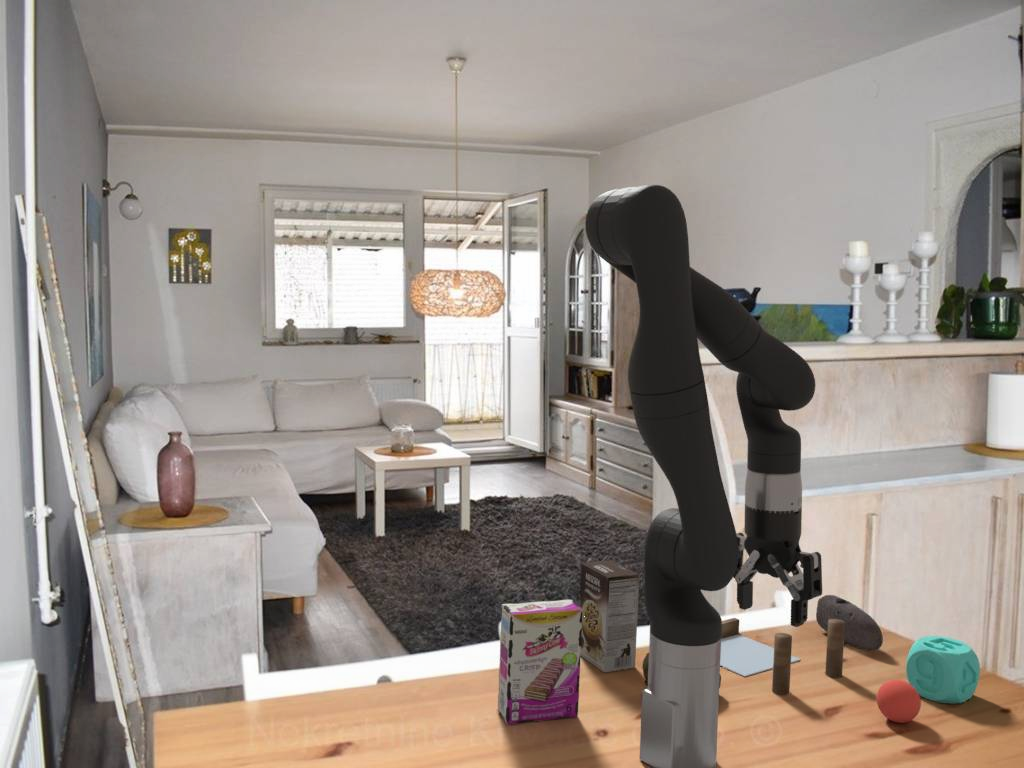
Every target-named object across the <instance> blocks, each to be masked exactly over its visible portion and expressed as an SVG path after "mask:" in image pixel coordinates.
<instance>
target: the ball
mask: <svg viewBox="0 0 1024 768" xmlns="http://www.w3.org/2000/svg"><path fill="white" fill-rule="evenodd" d="M876 704H877V707H878V709H879V712H880V713H881V714H882V715H883V716H884V717H886V719H888V720H890V721H892V722H895V723H900V724H901V723H902V724H903V723H908V722H910V721H912V720H914V719H915V718H917V716H918V715H919V713H920V711H921V708H922V707H921V705H922V702H921V696H920V695H919V694H918V692H917V690H916V689H915V688H914V687H913V686H912V685H911V684H910V683H909V681H908V682H907V681H905V680H903V679H895V678H894V679H890V680H887V681H885V682H884V683H882V685H881V686H880V687H879V688H878V690H877V693H876Z"/></svg>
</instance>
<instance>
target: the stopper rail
mask: <svg viewBox="0 0 1024 768" xmlns="http://www.w3.org/2000/svg"><path fill="white" fill-rule="evenodd" d="M739 633H740V618H739V619H738V618H736V617H733V618H732V617H731V618H729V619H724V620H722V635H721V638H725V637H730V636H734V635H738V634H739ZM724 636H725V637H724Z"/></svg>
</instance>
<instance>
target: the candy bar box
mask: <svg viewBox="0 0 1024 768" xmlns="http://www.w3.org/2000/svg"><path fill="white" fill-rule="evenodd" d="M500 610H501V611H500V613H501V614H500V619H501V620H500V636H499V638H500V641H499V642H500V643H499V644H500V645H499V666H498V668H499V669H498V670H499V671H498V695H497V696H498V697H497V699H498V700H497V712H498V713H499V715H500V716H501V717H502V719H503V721H504V723H506V725H515V724H516V725H517V724H524V723H533V722H541V721H542V722H543V721H550V720H558V719H566V718H576V717H577V718H578V715H579V701H580V700H579V699H580V674H581V633H582V611H583V610H582V609H581V608H580V605H578V604H577V603H575V602H574V600H572V599H560V600H559V599H558V600H557V599H556V600H544V601H531V602H530V601H527V602H512V603H502V604H501V609H500Z"/></svg>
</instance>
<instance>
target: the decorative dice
mask: <svg viewBox="0 0 1024 768" xmlns="http://www.w3.org/2000/svg"><path fill="white" fill-rule="evenodd" d="M980 665H981V664H980V661H979V657H978V656H977V654H976V653H975V651H974V650H973V648H972V647H971V646H970V645H969V644H967V643H965V642H964V641H961V640H958V639H955V638H950V637H944V636H938V635H937V636H936V635H934V636H933V635H932V636H931V635H928V636H927V635H926V636H922V637H920V638H918V639H916V641H915V642H914V643H913V644H912V646H911V647H910V650H909V652H908V655H907V659H906V664H905V676H906V678H907V681H908V683H909V684H911V685H912V686H913V687H914V688H915V689H916V690H917V692H918V694H919V696H920V697H922V698H924V699H927V700H929V701H932V702H935V701H936V703H940V702H941V703H942V704H946V703H960V704H963V703H962V702H964V703H966V702H967V701H966V700H968V699H969V700H971V698H972V697H973V696H974V694H975V692H976V689H977V687H978V684H979V679H980V673H981V672H980V671H981V668H980ZM969 700H968V701H969ZM965 701H966V702H965Z"/></svg>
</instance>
